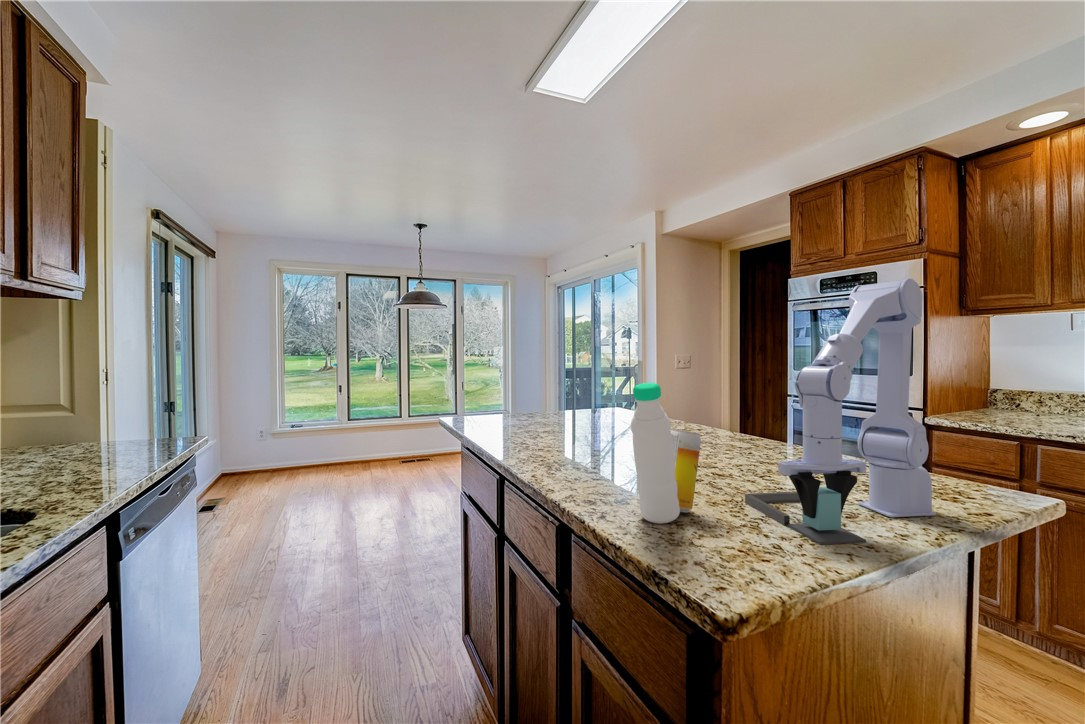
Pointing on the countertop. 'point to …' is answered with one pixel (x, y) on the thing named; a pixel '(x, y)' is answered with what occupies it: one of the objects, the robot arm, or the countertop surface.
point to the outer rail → (762, 499)
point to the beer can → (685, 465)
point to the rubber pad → (826, 535)
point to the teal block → (826, 511)
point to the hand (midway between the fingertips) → (822, 515)
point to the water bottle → (654, 456)
